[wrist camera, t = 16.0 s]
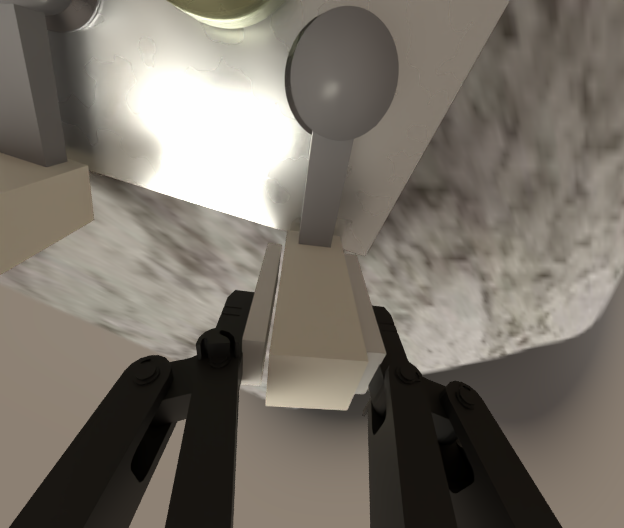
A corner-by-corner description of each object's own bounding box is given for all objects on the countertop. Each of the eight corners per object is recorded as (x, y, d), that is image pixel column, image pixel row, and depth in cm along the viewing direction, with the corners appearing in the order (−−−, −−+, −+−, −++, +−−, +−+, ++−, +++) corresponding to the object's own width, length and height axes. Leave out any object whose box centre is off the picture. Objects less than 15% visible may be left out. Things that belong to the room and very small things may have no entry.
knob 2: (298, 11, 10) (273, -226, 3) (397, 31, 10) (620, -127, 3) (277, 272, 17) (254, 405, 10) (336, 278, 17) (357, 410, 10)
